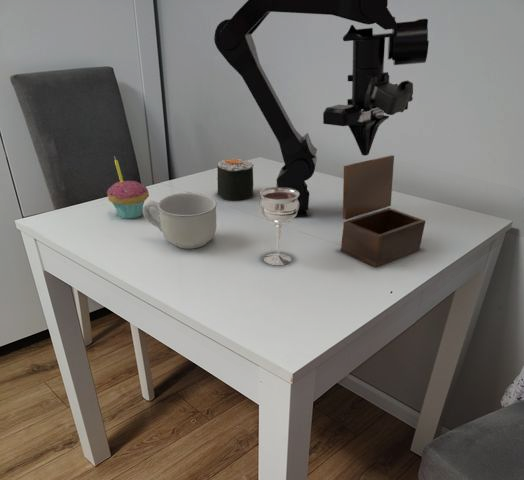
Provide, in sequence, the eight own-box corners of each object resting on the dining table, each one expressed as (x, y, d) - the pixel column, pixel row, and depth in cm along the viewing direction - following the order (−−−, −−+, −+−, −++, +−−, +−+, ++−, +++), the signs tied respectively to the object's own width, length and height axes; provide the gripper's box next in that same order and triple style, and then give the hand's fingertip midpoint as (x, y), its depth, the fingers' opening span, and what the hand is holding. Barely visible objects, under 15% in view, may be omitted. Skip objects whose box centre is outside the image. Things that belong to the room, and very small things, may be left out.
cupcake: (102, 218, 104) (92, 159, 97) (126, 205, 111) (117, 150, 104) (136, 224, 102) (128, 164, 95) (158, 211, 108) (152, 154, 101)
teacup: (226, 236, 97) (225, 196, 92) (203, 258, 89) (201, 215, 84) (164, 227, 101) (159, 188, 96) (136, 247, 92) (130, 205, 88)
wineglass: (251, 257, 89) (251, 191, 82) (280, 248, 92) (282, 184, 86) (274, 270, 85) (276, 202, 78) (303, 261, 88) (308, 194, 81)
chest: (419, 250, 93) (425, 220, 89) (375, 267, 86) (380, 236, 83) (384, 235, 98) (389, 207, 95) (340, 251, 92) (343, 221, 88)
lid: (394, 155, 90) (391, 155, 90) (346, 166, 83) (343, 165, 84) (390, 205, 94) (388, 205, 95) (345, 219, 88) (342, 219, 88)
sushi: (228, 202, 113) (227, 167, 109) (213, 192, 119) (211, 158, 115) (258, 197, 117) (259, 162, 112) (242, 187, 123) (242, 154, 118)
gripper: (367, 75, 81) (364, 171, 90) (435, 61, 90) (426, 150, 99) (320, 74, 88) (321, 163, 97) (387, 61, 97) (383, 143, 106)
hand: (365, 155), depth 100 cm, fingers closed
